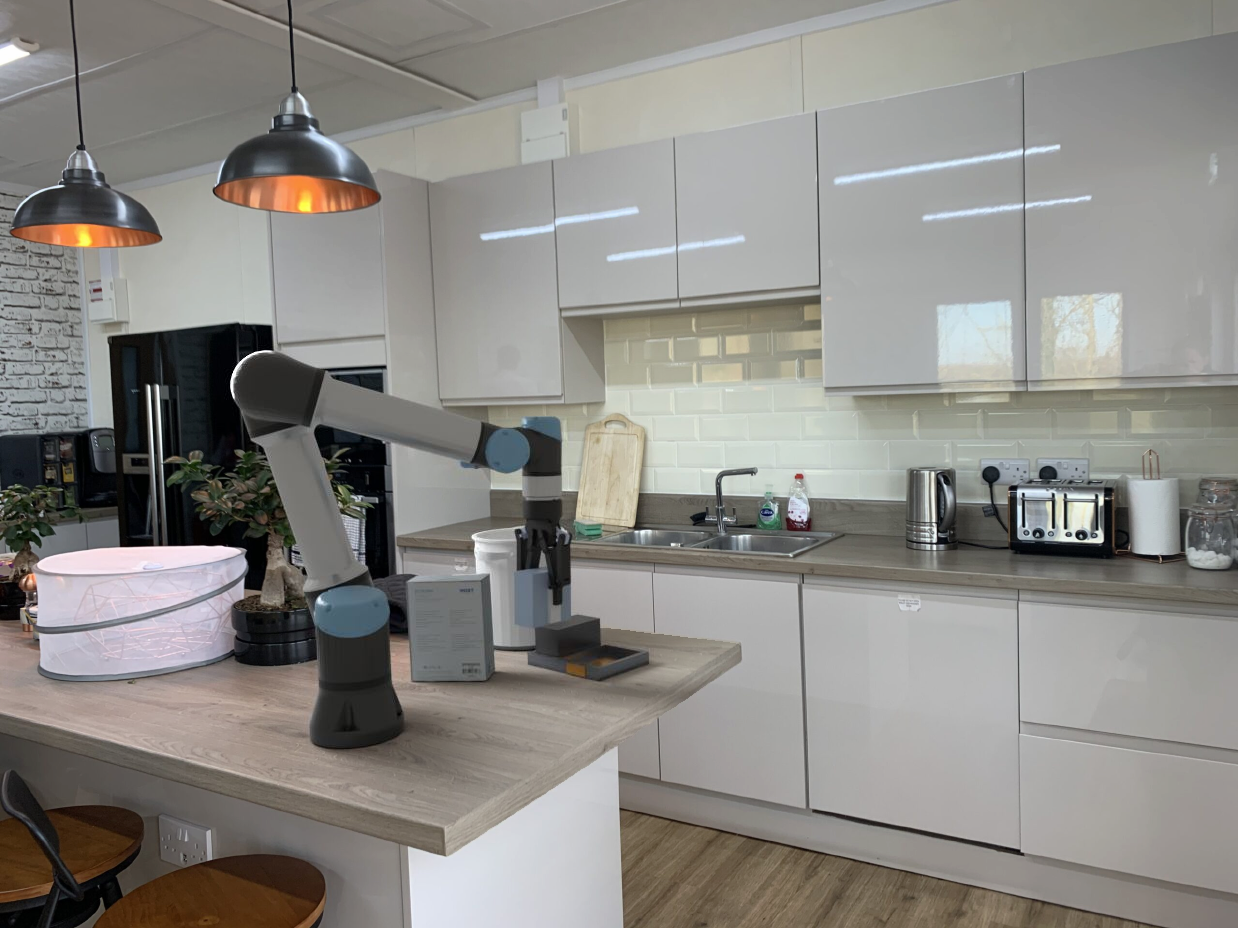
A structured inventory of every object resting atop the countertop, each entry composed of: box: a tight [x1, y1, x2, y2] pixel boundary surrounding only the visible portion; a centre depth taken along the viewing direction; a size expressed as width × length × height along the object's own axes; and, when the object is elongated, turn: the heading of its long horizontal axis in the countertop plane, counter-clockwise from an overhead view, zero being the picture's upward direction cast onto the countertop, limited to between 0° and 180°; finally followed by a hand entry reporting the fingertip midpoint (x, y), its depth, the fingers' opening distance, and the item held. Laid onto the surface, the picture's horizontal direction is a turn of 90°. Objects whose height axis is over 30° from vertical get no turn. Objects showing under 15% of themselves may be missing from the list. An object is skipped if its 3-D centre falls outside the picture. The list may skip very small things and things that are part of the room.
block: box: [514, 566, 572, 628], centre depth 177 cm, size 10×5×10 cm, turn 138°
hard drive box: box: [405, 573, 496, 682], centre depth 185 cm, size 16×8×20 cm, turn 84°
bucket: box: [471, 526, 569, 651], centre depth 212 cm, size 26×22×24 cm
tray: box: [527, 613, 650, 682], centre depth 191 cm, size 15×20×8 cm
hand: (543, 619), depth 178 cm, fingers closed on block, 5 cm apart
